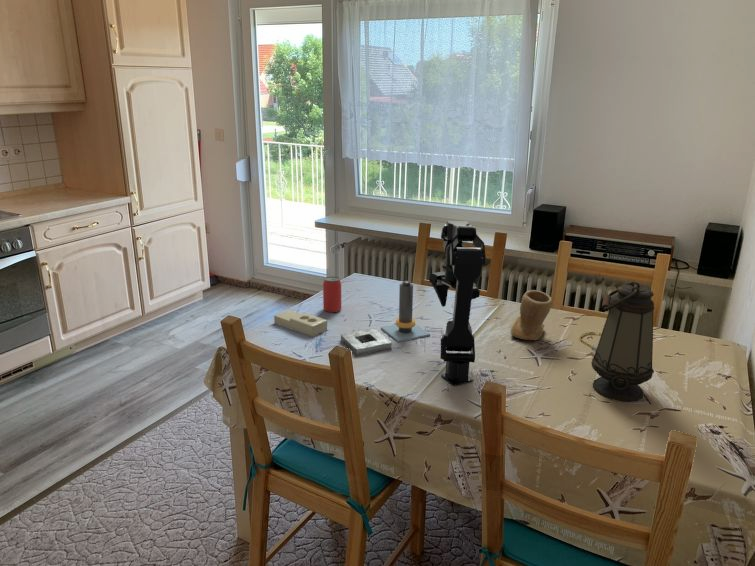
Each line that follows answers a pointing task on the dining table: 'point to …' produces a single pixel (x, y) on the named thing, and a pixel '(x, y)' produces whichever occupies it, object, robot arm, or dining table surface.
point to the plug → (405, 308)
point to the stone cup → (532, 315)
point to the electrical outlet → (301, 322)
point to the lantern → (625, 344)
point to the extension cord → (587, 343)
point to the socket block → (360, 348)
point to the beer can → (332, 294)
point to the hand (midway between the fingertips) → (452, 311)
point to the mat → (399, 337)
